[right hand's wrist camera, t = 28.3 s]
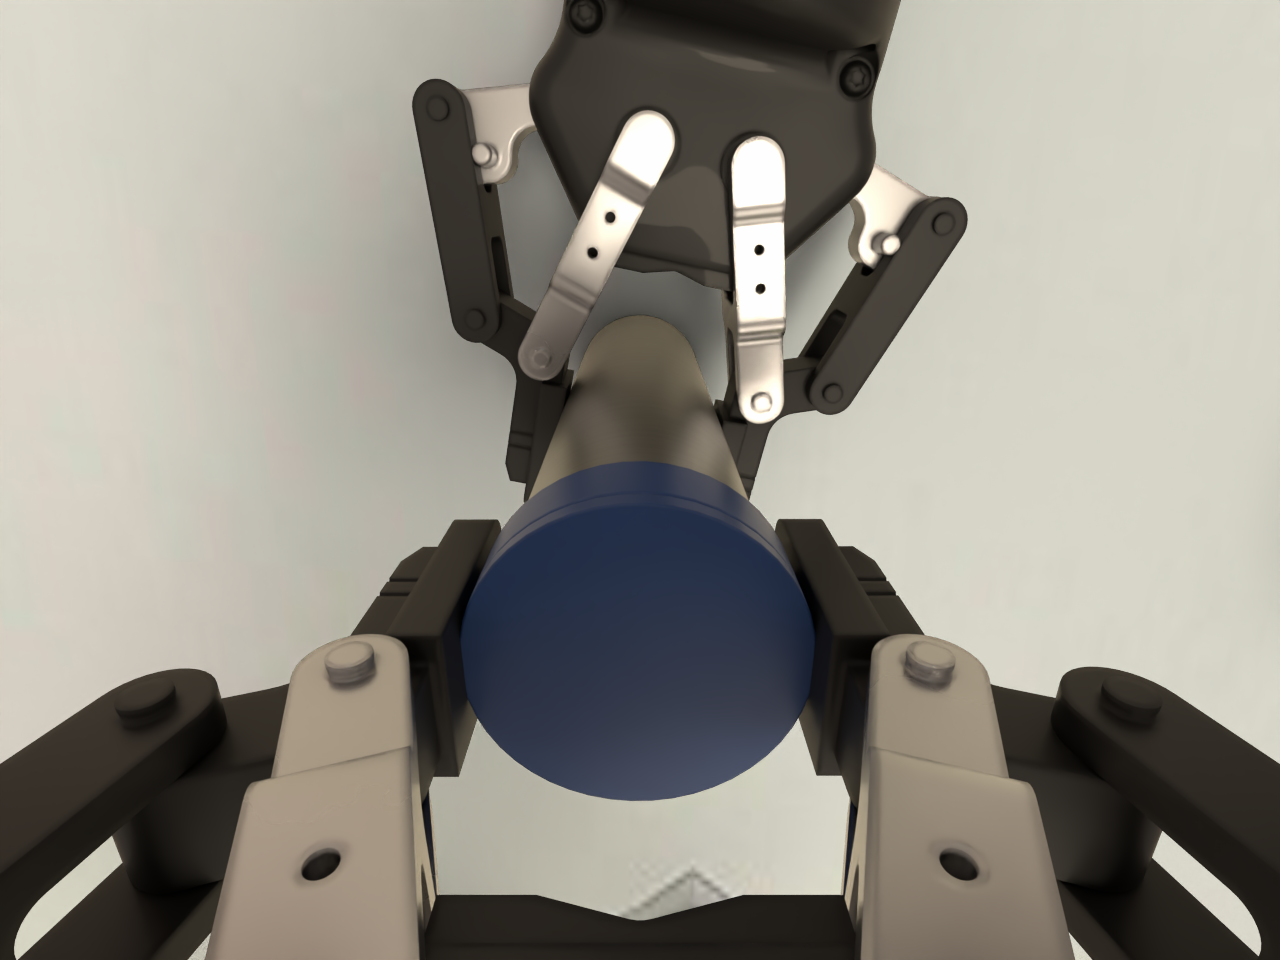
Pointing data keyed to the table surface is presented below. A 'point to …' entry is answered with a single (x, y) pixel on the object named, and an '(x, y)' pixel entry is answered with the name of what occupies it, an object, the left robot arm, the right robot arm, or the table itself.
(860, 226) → the left robot arm
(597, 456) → the jar
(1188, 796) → the right robot arm
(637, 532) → the lid
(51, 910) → the table surface
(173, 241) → the table surface
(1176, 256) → the table surface
